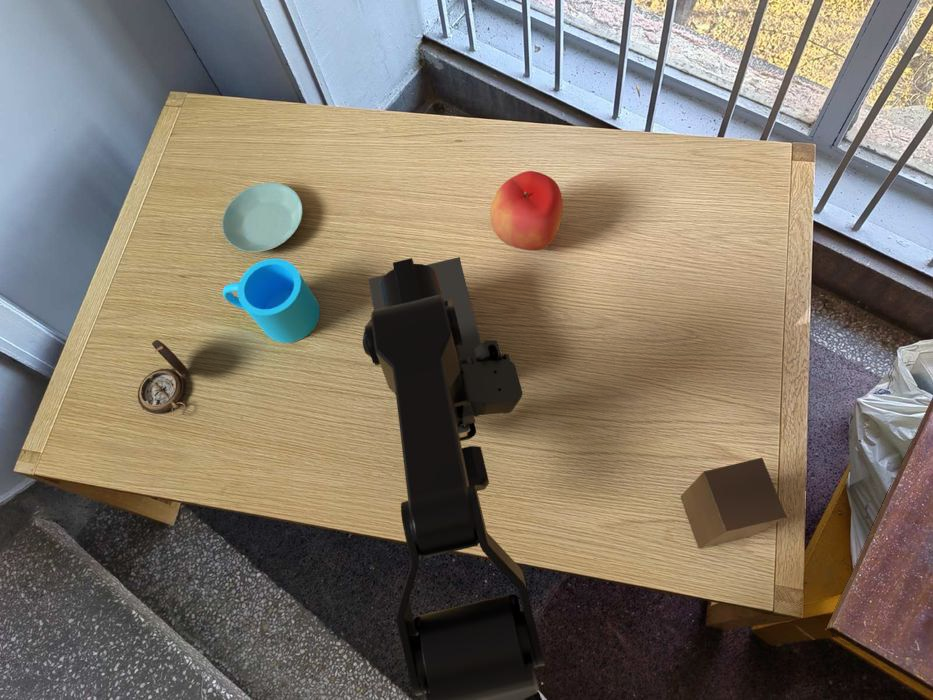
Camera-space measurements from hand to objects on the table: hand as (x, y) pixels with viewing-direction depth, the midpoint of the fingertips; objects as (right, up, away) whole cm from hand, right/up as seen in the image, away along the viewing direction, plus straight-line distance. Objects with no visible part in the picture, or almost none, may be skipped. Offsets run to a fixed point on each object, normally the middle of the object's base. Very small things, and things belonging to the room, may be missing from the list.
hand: (451, 434), depth 80 cm
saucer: (-27, +28, +20) cm, 44 cm away
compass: (-37, +4, +10) cm, 39 cm away
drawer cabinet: (-3, +11, +9) cm, 14 cm away
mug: (-24, +15, +13) cm, 31 cm away
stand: (+30, -9, -3) cm, 31 cm away
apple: (+10, +26, +15) cm, 31 cm away
